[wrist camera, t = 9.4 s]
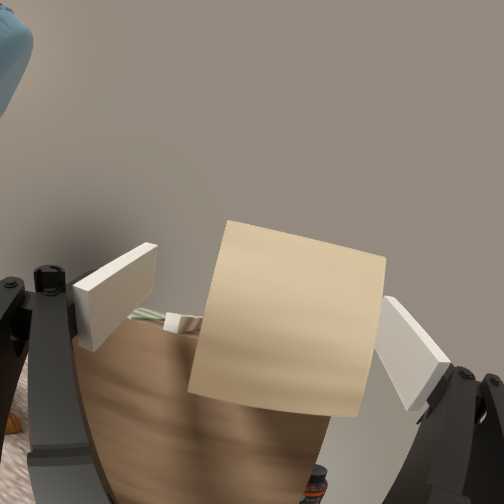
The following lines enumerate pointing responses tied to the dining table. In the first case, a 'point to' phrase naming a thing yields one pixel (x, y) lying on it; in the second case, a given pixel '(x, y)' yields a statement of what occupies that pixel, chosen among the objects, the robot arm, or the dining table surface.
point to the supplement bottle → (315, 486)
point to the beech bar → (288, 323)
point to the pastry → (13, 424)
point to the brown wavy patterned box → (185, 424)
